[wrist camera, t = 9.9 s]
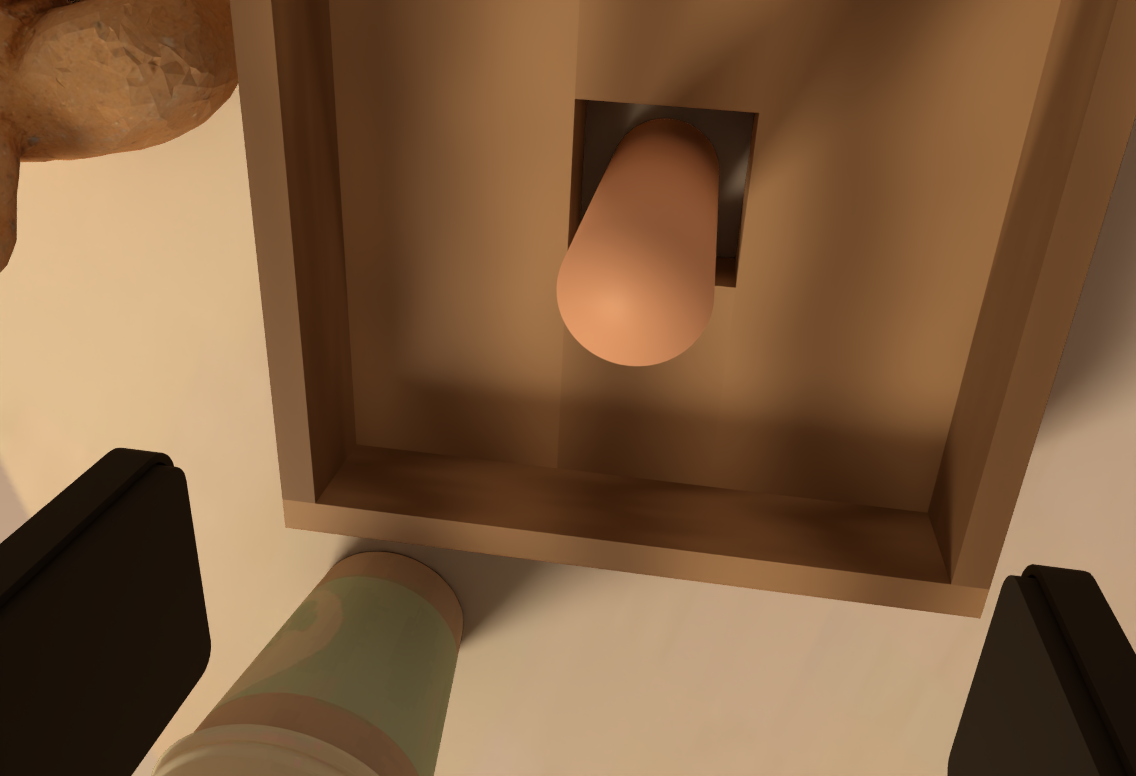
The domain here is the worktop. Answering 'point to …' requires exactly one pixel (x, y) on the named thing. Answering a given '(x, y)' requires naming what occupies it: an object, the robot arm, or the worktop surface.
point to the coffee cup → (340, 682)
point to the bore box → (742, 285)
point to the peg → (646, 248)
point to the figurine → (104, 80)
